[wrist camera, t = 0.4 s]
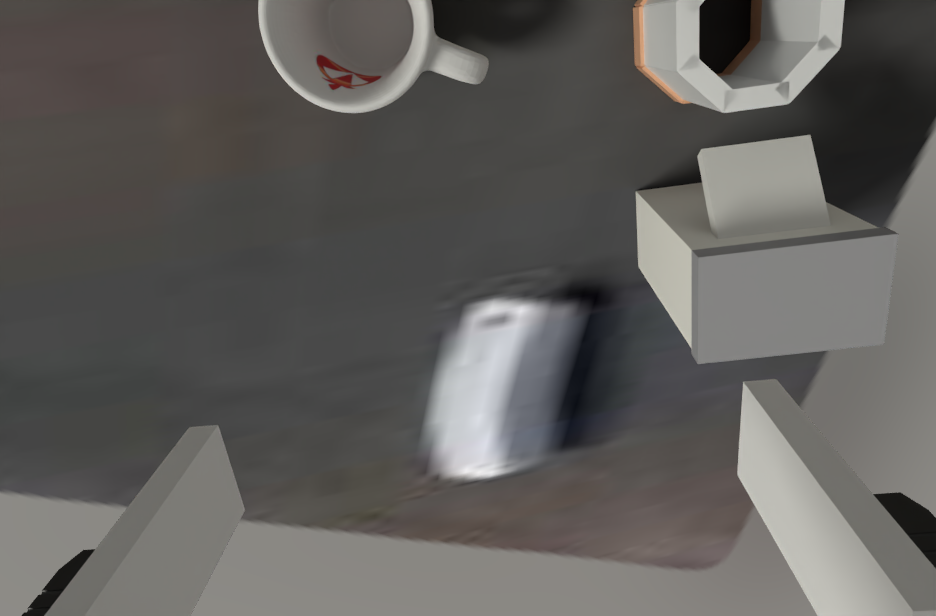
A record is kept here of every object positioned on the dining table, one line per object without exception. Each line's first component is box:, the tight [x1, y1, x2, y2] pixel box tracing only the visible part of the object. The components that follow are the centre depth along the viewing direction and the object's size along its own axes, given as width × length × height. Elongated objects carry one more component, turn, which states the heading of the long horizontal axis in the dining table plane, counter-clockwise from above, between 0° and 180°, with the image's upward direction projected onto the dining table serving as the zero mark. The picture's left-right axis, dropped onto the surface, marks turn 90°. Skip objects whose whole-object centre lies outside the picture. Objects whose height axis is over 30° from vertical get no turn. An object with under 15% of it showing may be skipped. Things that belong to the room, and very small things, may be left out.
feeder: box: [636, 135, 899, 364], centre depth 33 cm, size 9×8×13 cm
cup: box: [258, 0, 489, 113], centre depth 32 cm, size 11×8×8 cm
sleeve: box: [633, 0, 845, 113], centre depth 32 cm, size 8×8×8 cm
